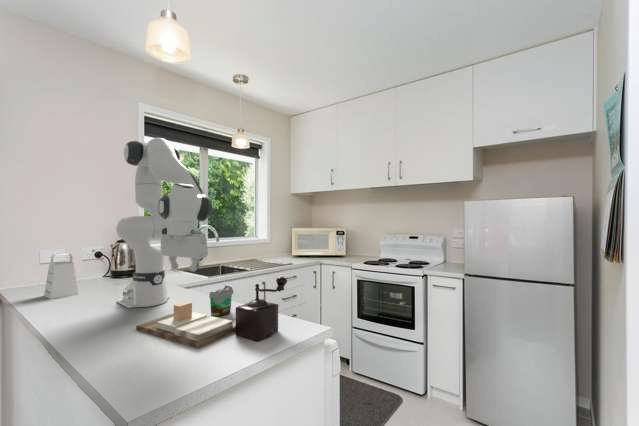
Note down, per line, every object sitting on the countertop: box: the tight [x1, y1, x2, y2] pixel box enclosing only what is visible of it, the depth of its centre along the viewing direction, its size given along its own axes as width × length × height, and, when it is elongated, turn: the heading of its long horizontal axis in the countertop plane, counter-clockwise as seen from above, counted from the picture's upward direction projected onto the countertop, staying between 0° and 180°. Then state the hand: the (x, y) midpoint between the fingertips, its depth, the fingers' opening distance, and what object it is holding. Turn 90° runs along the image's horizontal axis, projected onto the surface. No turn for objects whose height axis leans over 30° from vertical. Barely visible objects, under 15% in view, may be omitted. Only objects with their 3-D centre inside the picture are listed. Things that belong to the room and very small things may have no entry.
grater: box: [43, 253, 79, 300], centre depth 148 cm, size 10×10×20 cm
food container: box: [208, 285, 234, 318], centre depth 121 cm, size 12×6×10 cm, turn 168°
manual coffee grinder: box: [234, 276, 288, 343], centre depth 103 cm, size 16×11×18 cm
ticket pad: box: [135, 313, 235, 349], centre depth 103 cm, size 31×16×4 cm, turn 62°
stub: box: [157, 301, 208, 333], centre depth 104 cm, size 9×13×7 cm
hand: (183, 269), depth 104 cm, fingers open, 8 cm apart
